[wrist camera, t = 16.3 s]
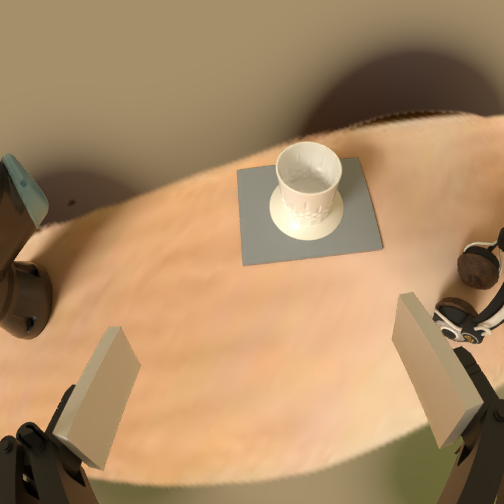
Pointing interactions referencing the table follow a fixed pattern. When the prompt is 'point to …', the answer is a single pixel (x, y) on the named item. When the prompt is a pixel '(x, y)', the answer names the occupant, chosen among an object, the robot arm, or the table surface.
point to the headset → (480, 277)
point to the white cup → (308, 181)
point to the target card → (297, 236)
